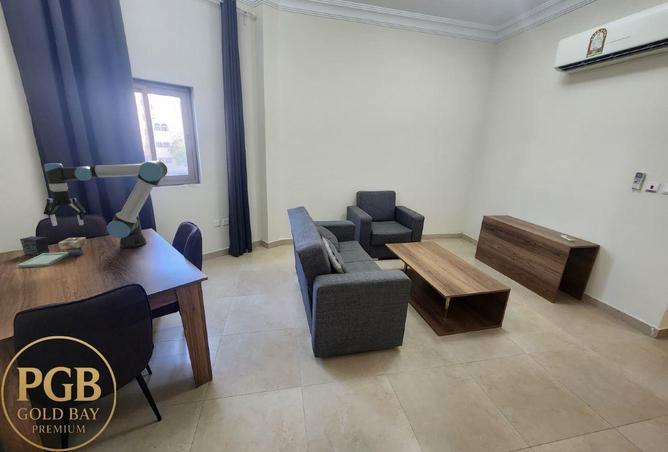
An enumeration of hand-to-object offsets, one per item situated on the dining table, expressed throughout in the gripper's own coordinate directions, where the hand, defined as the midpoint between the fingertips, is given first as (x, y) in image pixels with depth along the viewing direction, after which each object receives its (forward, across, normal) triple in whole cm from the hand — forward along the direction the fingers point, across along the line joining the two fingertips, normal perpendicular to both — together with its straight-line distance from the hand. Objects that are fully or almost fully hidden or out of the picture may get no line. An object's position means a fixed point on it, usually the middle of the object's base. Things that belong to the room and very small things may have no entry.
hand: (68, 225), depth 163 cm
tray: (+19, +11, +7) cm, 23 cm away
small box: (+20, +24, -6) cm, 32 cm away
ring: (+14, 0, 0) cm, 14 cm away
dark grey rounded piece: (+20, 0, 0) cm, 20 cm away
